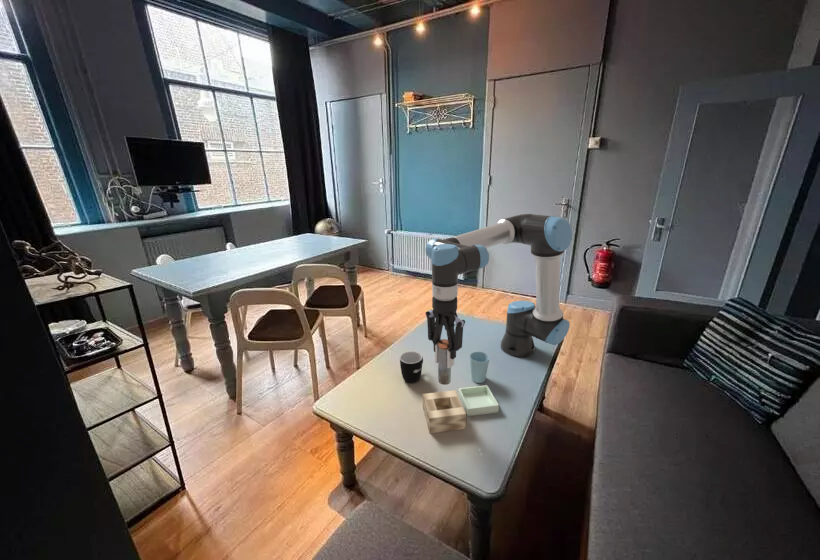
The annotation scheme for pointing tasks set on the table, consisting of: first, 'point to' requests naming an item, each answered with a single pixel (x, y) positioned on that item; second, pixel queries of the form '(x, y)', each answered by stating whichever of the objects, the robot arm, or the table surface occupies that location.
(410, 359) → the mug
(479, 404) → the tray
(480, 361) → the cup
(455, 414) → the eye block
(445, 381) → the peg
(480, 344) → the table surface
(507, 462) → the table surface
